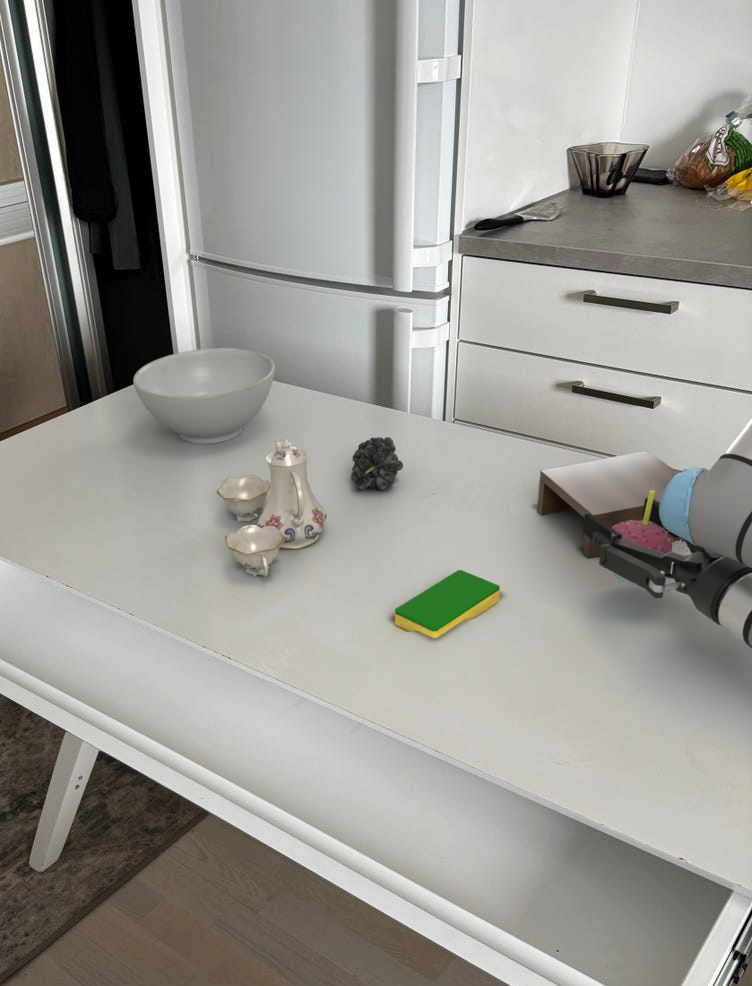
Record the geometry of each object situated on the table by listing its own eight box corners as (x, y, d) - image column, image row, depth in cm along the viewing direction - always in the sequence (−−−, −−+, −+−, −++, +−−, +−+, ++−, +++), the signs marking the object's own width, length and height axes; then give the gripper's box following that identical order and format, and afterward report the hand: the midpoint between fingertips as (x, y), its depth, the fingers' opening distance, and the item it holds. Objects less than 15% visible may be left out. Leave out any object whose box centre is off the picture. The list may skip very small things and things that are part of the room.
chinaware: (212, 516, 164) (190, 425, 155) (307, 491, 166) (291, 399, 156) (242, 601, 142) (218, 500, 132) (352, 571, 143) (336, 469, 133)
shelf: (640, 491, 157) (646, 450, 153) (700, 535, 144) (708, 492, 140) (536, 511, 154) (540, 470, 150) (587, 558, 141) (593, 515, 137)
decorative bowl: (115, 437, 193) (105, 377, 186) (219, 396, 207) (212, 339, 200) (201, 472, 176) (193, 408, 169) (307, 425, 190) (304, 364, 183)
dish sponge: (393, 624, 131) (393, 609, 130) (459, 583, 138) (459, 568, 137) (434, 644, 126) (435, 629, 125) (500, 600, 134) (501, 585, 132)
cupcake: (620, 551, 131) (631, 469, 124) (680, 571, 126) (696, 486, 119) (585, 577, 127) (595, 494, 120) (647, 599, 121) (661, 513, 114)
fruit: (363, 411, 169) (359, 444, 157) (409, 424, 170) (408, 459, 157) (349, 456, 174) (343, 492, 162) (393, 469, 175) (391, 505, 162)
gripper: (657, 651, 108) (542, 559, 126) (812, 603, 113) (680, 521, 131) (667, 594, 104) (547, 507, 122) (827, 546, 109) (689, 470, 127)
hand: (616, 515), depth 126 cm, fingers closed on cupcake, 8 cm apart
